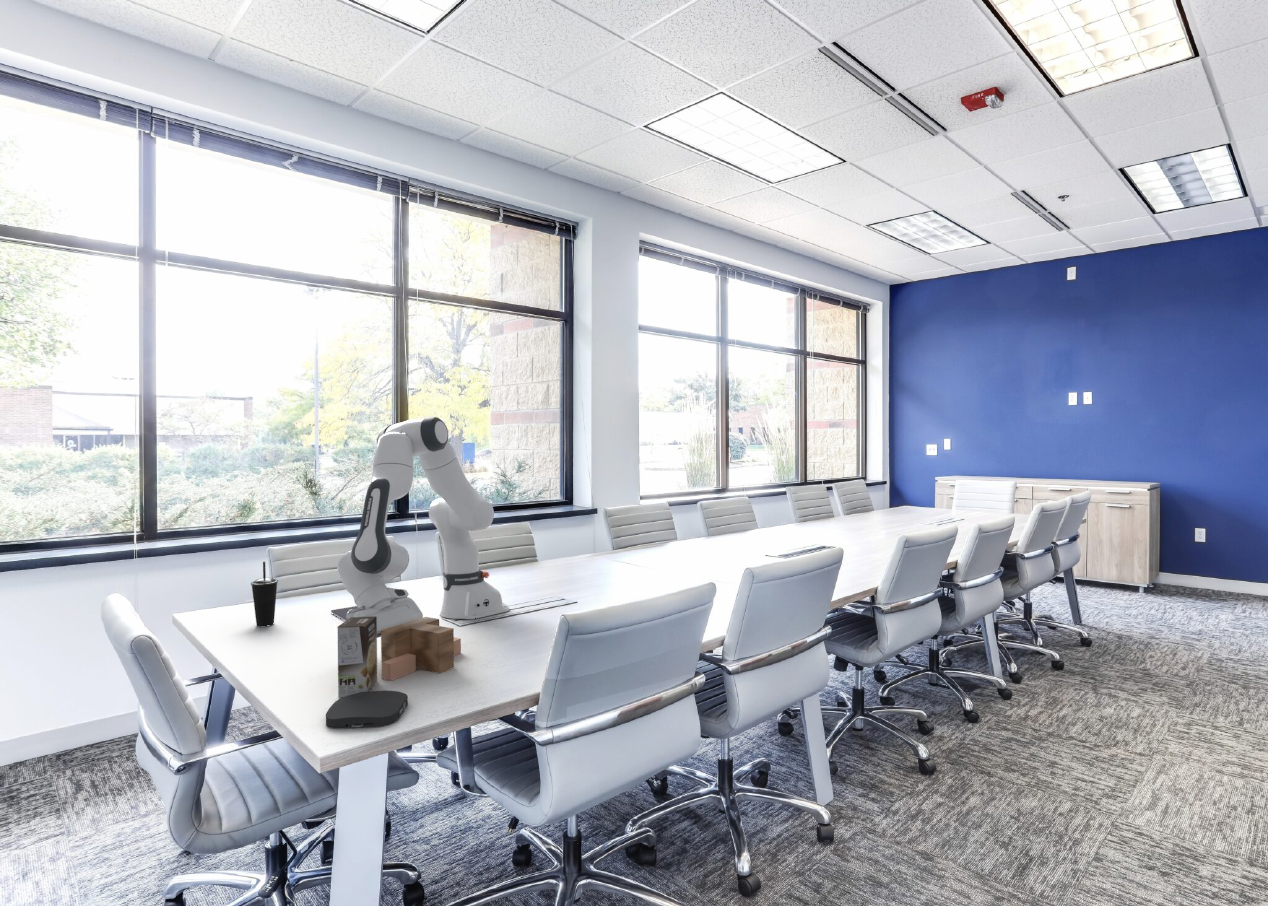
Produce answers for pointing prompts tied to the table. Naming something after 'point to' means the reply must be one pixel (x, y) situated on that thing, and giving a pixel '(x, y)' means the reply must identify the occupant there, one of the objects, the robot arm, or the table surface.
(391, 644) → the t block
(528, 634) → the table surface
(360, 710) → the media streaming box
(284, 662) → the table surface
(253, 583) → the drinking cup
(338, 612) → the notebook
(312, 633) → the table surface
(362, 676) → the coffee box
